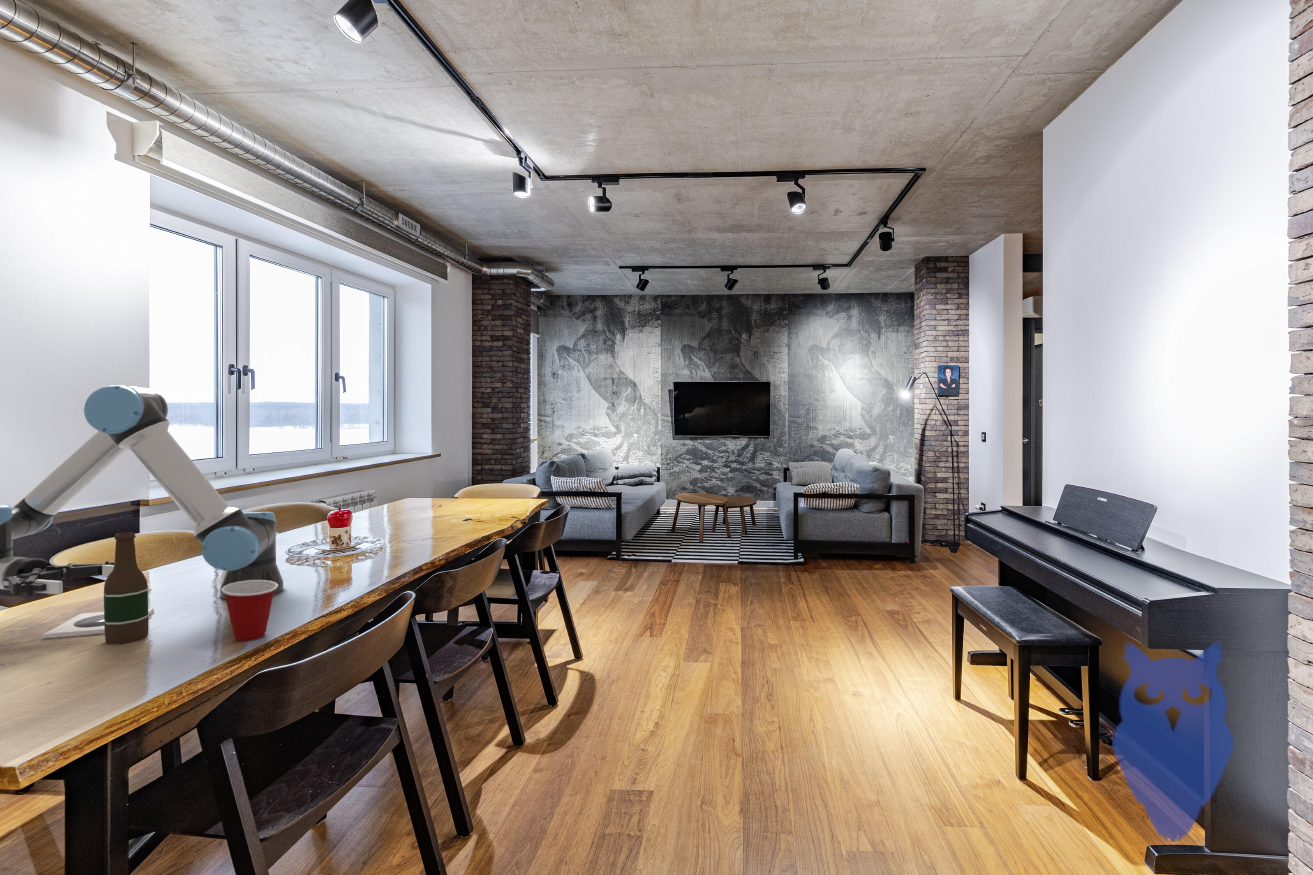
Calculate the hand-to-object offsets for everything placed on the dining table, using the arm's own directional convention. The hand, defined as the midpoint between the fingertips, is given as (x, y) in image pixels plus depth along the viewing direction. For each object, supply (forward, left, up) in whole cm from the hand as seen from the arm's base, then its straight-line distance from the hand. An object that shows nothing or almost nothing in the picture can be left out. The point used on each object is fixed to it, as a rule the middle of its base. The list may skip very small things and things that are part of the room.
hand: (95, 579), depth 140 cm
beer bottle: (-7, +4, -13) cm, 16 cm away
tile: (+3, -9, -13) cm, 16 cm away
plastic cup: (-33, +11, -13) cm, 37 cm away
